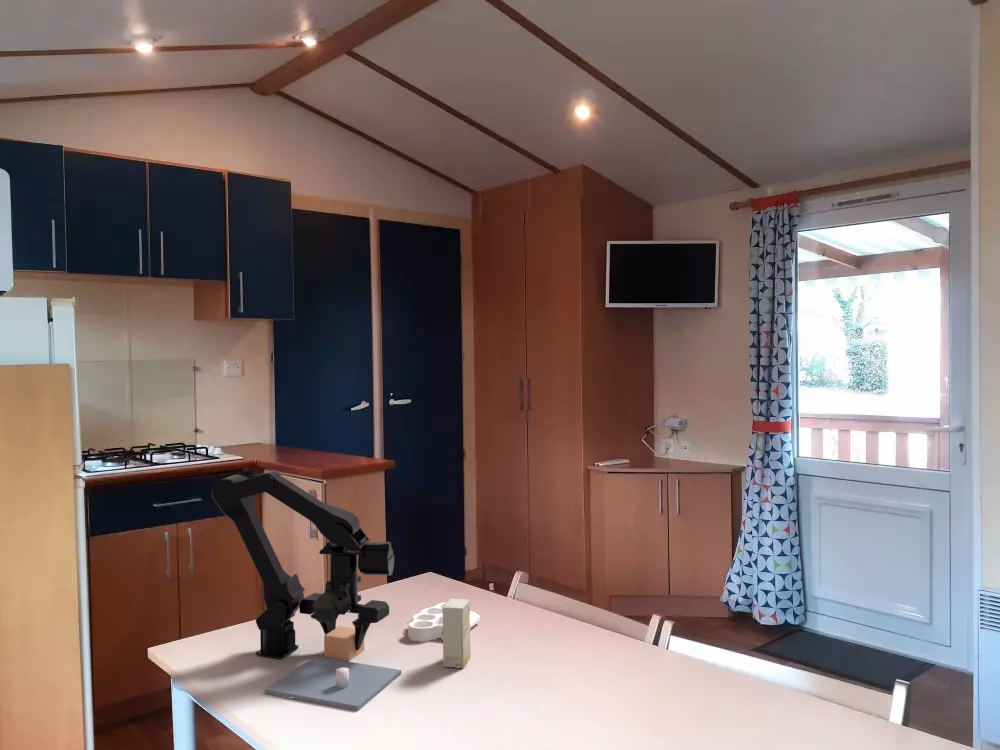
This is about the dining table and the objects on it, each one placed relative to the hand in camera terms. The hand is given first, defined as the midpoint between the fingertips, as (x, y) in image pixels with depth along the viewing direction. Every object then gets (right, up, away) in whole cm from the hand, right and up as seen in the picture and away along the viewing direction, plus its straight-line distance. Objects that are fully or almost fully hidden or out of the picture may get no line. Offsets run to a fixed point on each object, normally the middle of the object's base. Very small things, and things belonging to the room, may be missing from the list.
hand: (344, 647), depth 156 cm
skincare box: (+24, -1, -5) cm, 24 cm away
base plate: (+1, -2, -14) cm, 14 cm away
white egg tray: (+19, -1, +14) cm, 24 cm away
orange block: (0, -1, 0) cm, 1 cm away
